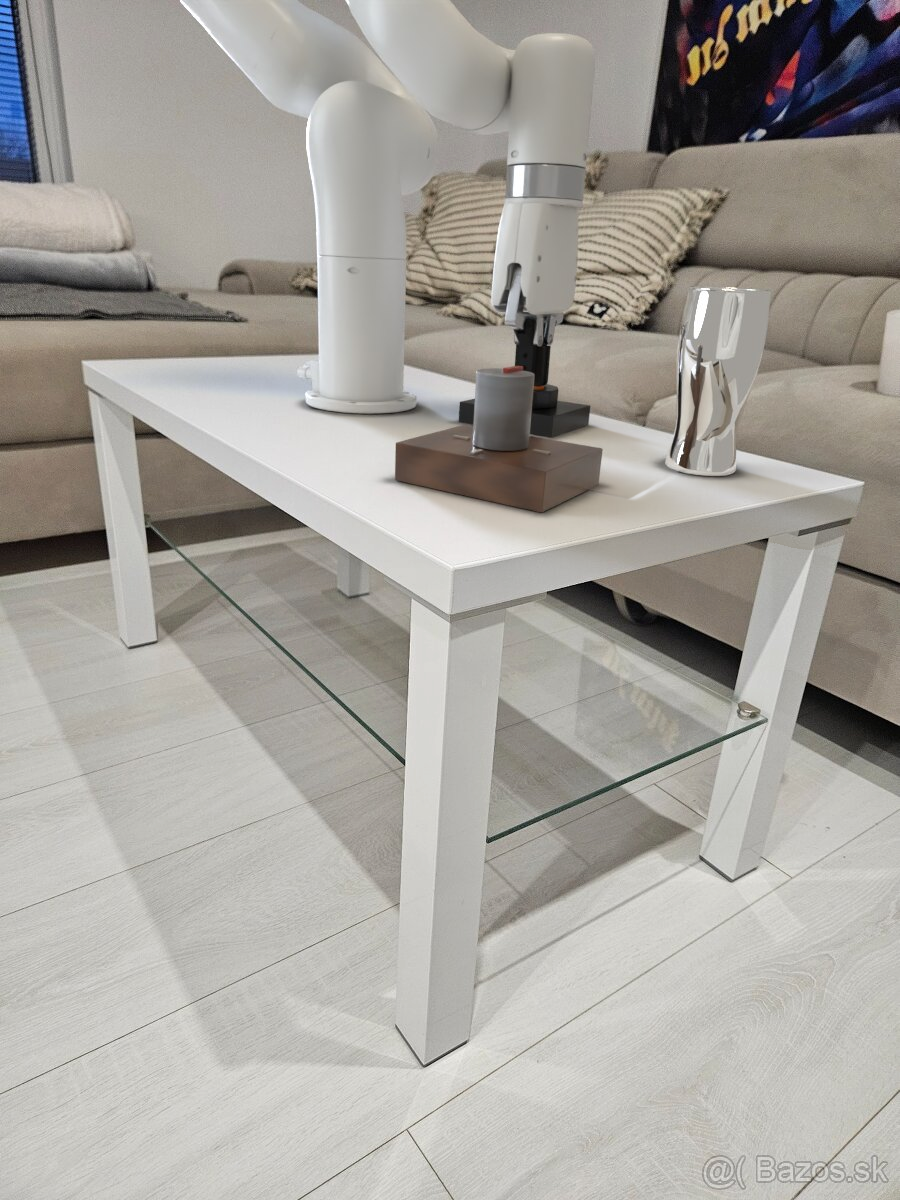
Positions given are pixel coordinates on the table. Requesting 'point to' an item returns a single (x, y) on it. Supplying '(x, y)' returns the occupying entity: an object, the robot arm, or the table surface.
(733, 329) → the beer glass
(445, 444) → the brown wooden base
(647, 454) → the table surface
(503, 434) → the knob
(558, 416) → the button box
